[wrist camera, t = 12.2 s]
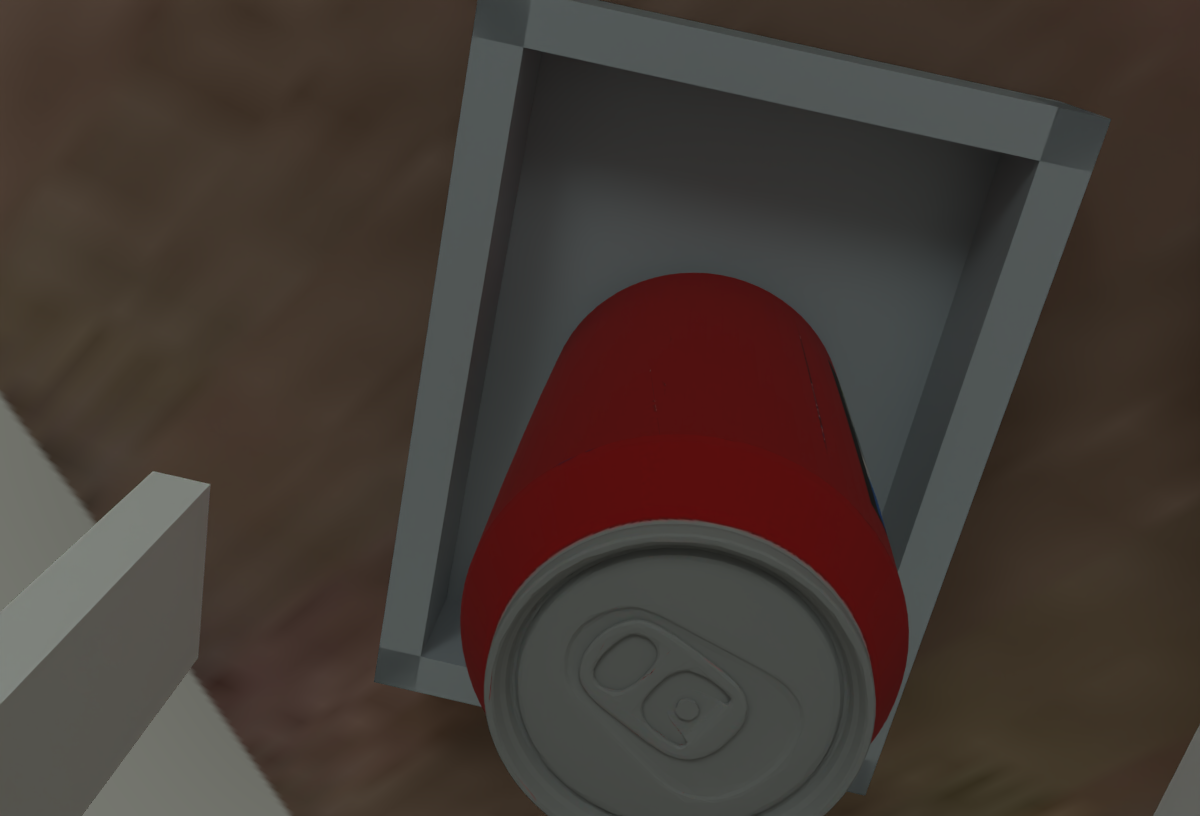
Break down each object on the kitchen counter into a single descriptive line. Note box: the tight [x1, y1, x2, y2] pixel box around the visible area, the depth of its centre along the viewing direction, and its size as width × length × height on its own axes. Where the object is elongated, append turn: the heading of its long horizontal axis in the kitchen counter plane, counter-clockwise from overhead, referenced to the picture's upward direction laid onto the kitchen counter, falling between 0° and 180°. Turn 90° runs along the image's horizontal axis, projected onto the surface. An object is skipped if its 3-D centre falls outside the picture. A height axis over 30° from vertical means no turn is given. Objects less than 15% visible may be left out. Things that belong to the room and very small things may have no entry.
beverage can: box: [460, 273, 909, 816], centre depth 21 cm, size 7×7×12 cm
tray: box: [374, 0, 1111, 795], centre depth 25 cm, size 16×12×4 cm
